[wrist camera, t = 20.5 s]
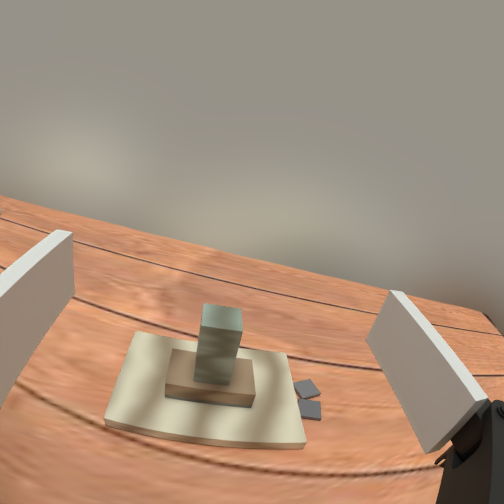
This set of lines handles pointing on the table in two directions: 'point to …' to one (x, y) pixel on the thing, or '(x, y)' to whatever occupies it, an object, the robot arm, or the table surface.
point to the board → (199, 414)
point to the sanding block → (213, 363)
